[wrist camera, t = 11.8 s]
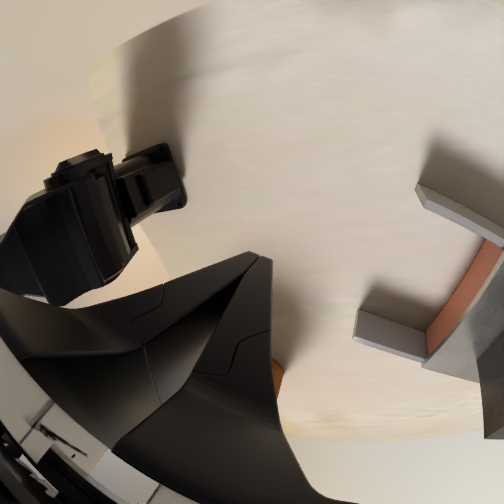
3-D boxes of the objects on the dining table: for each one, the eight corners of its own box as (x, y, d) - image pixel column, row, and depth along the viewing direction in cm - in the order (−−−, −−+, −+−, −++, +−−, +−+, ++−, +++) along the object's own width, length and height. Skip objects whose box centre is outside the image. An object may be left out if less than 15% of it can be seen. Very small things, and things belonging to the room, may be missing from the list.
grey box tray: (356, 313, 24) (352, 340, 22) (417, 183, 17) (427, 199, 14) (491, 359, 20) (496, 383, 17) (559, 268, 12) (574, 290, 10)
